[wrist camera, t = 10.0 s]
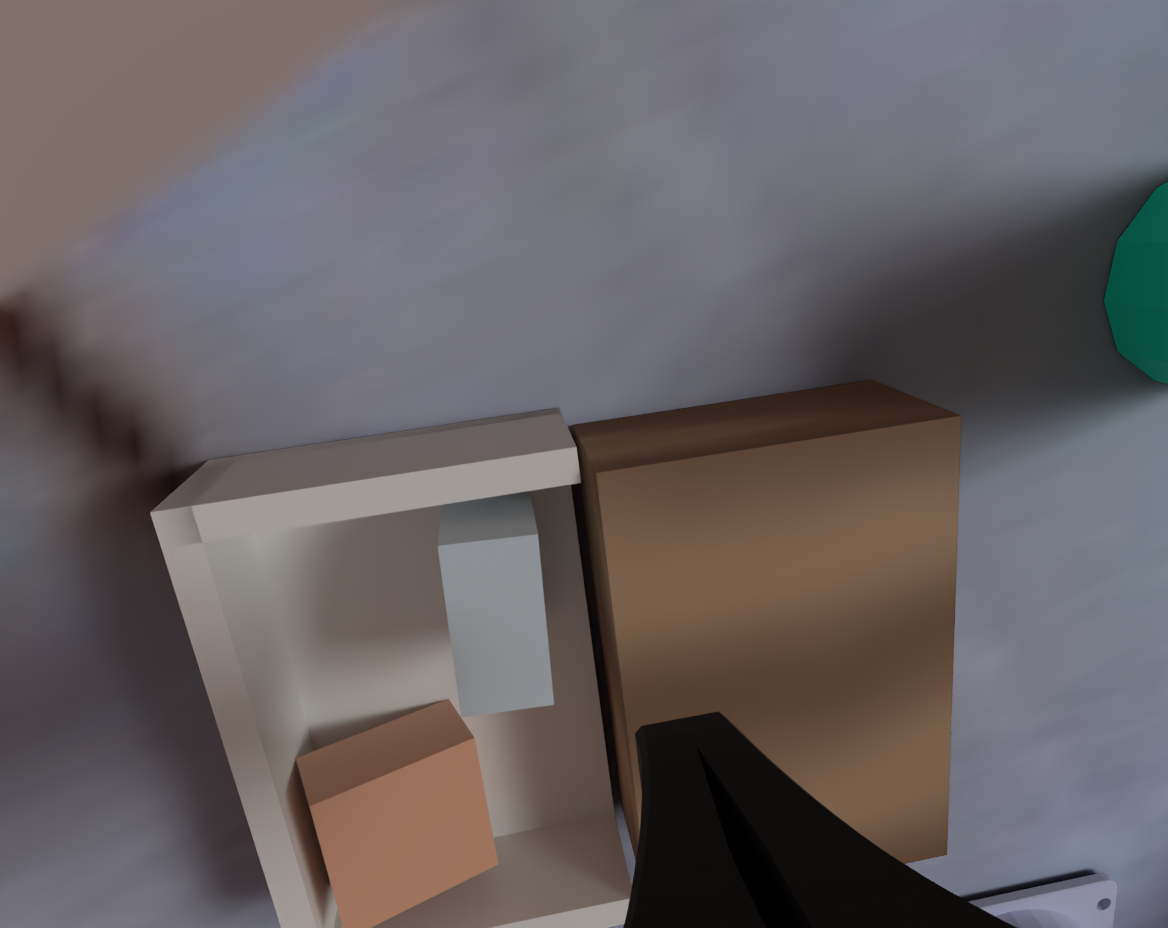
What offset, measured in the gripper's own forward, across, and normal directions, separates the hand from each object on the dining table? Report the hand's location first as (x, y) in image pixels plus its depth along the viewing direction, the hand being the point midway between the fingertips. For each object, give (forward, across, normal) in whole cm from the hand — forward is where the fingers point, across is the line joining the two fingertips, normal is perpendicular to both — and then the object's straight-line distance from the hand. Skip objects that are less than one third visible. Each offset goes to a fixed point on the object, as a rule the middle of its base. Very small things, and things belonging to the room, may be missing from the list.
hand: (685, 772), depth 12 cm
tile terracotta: (+6, +6, +6) cm, 10 cm away
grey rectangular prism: (+7, +2, 0) cm, 7 cm away
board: (+9, -4, +3) cm, 11 cm away
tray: (+9, +5, +3) cm, 11 cm away
